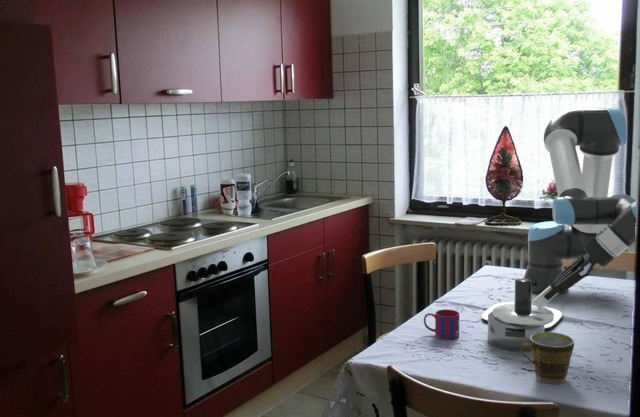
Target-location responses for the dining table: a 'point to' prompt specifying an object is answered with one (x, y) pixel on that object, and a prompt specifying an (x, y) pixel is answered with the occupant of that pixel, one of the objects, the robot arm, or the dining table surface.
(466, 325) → the dining table surface
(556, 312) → the plate
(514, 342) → the pot
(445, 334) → the cup
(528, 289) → the lid
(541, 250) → the robot arm
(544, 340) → the ceramic cup
